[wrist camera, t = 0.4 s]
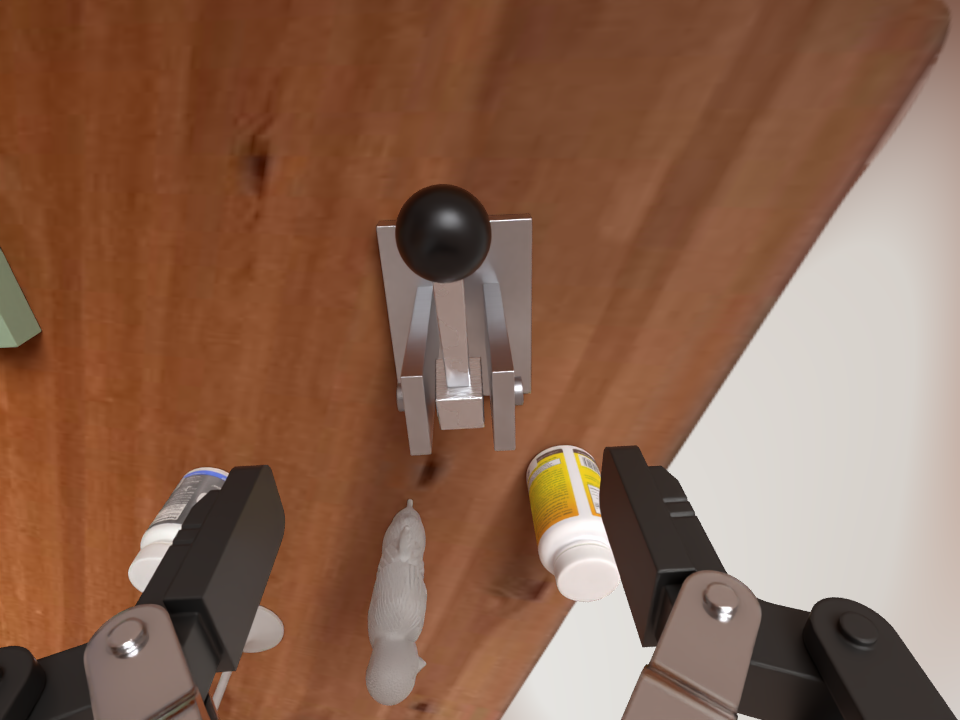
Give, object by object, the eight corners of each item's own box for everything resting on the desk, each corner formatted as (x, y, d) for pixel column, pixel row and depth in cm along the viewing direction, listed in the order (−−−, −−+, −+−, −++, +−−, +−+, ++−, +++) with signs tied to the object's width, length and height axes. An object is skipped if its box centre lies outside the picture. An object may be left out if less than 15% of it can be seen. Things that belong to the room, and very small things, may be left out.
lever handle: (390, 166, 17) (384, 232, 16) (488, 161, 17) (494, 226, 16) (430, 383, 28) (429, 438, 26) (491, 380, 28) (495, 435, 26)
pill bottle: (257, 499, 42) (214, 592, 35) (207, 518, 43) (155, 612, 36) (219, 456, 40) (165, 546, 33) (168, 477, 41) (103, 568, 33)
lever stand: (378, 220, 32) (338, 298, 21) (529, 213, 32) (563, 286, 21) (401, 391, 38) (379, 516, 27) (529, 384, 38) (555, 506, 27)
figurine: (425, 549, 45) (410, 747, 32) (378, 543, 45) (345, 742, 32) (446, 465, 41) (439, 655, 28) (394, 457, 40) (363, 647, 27)
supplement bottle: (519, 493, 43) (534, 607, 34) (533, 437, 40) (554, 546, 31) (586, 499, 43) (619, 613, 34) (605, 445, 40) (645, 554, 32)
